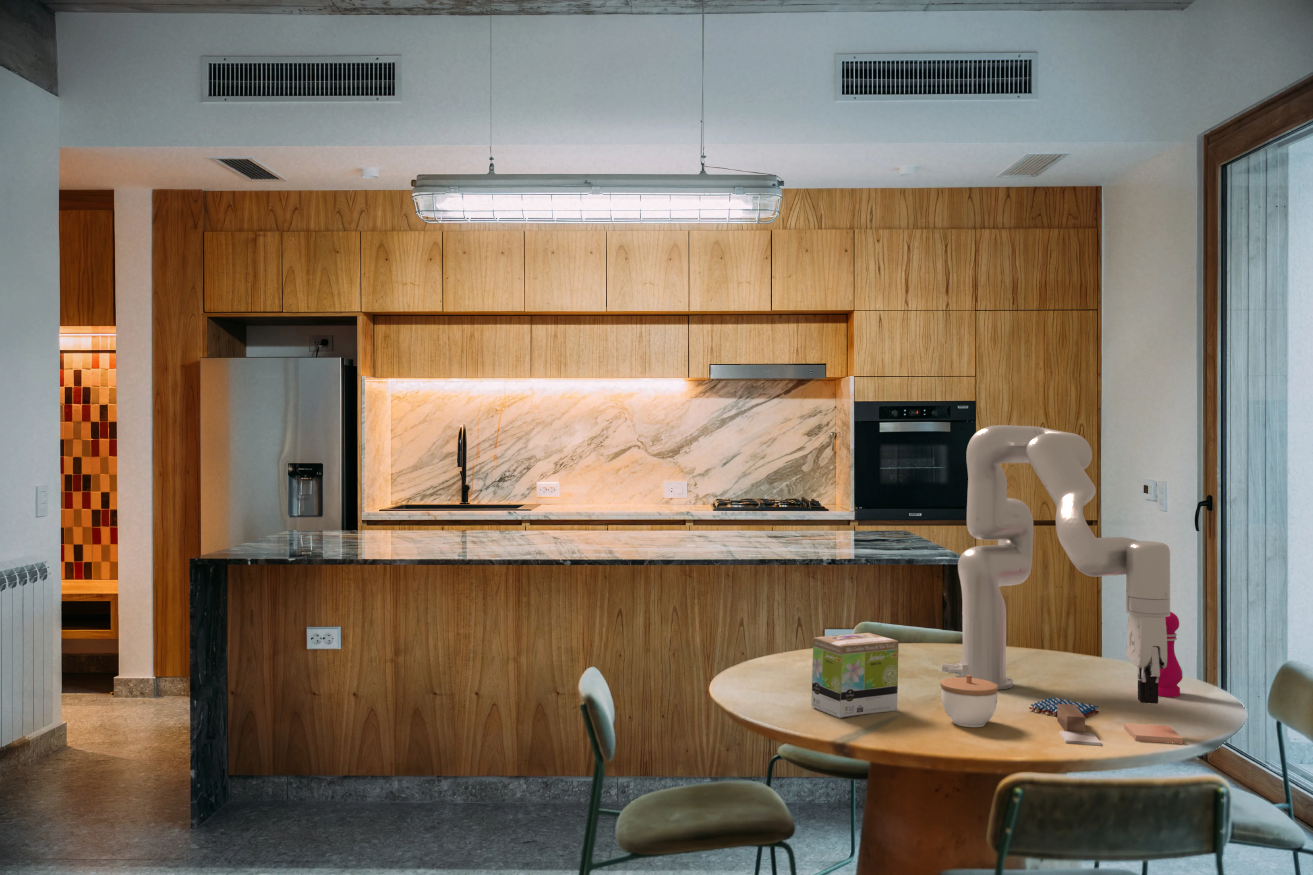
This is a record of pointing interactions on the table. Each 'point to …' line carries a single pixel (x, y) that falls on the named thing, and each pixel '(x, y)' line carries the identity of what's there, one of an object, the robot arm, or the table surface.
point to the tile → (1152, 733)
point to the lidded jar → (969, 700)
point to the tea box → (854, 674)
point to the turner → (1074, 726)
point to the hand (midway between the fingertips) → (1147, 701)
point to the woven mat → (1051, 703)
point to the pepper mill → (1170, 662)
